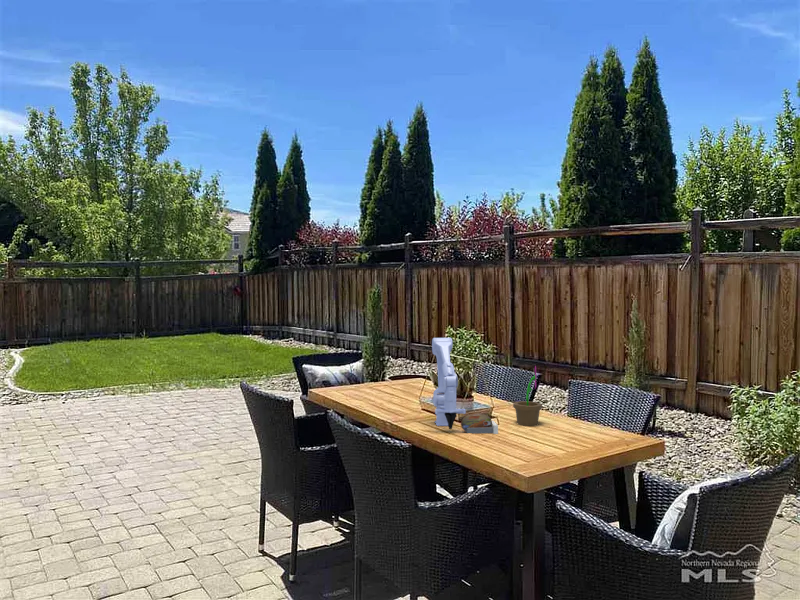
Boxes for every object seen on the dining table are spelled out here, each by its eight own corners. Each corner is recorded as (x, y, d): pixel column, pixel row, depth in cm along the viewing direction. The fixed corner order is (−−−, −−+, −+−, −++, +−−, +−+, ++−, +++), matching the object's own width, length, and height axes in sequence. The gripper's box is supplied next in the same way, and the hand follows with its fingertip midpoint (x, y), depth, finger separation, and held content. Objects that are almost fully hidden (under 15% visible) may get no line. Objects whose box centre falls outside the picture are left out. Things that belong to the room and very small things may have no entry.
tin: (461, 433, 281) (461, 415, 281) (460, 431, 284) (460, 414, 284) (492, 432, 283) (492, 414, 283) (490, 430, 286) (490, 413, 286)
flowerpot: (542, 427, 292) (542, 367, 291) (513, 426, 295) (513, 366, 294) (541, 421, 306) (541, 363, 305) (513, 420, 309) (513, 363, 308)
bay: (464, 429, 289) (464, 421, 289) (493, 428, 289) (493, 420, 289) (467, 434, 279) (467, 425, 279) (497, 433, 279) (498, 425, 279)
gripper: (436, 402, 279) (436, 430, 279) (466, 401, 280) (466, 430, 280) (434, 399, 286) (434, 427, 286) (464, 399, 287) (464, 426, 287)
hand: (450, 428), depth 283 cm, fingers closed
